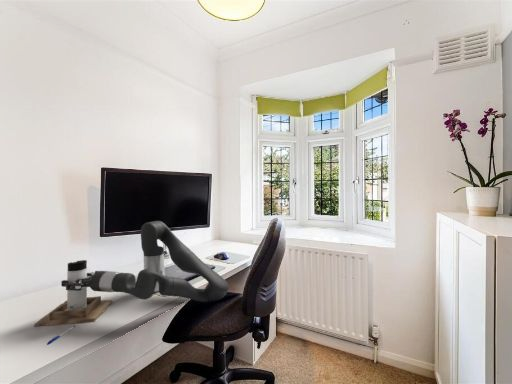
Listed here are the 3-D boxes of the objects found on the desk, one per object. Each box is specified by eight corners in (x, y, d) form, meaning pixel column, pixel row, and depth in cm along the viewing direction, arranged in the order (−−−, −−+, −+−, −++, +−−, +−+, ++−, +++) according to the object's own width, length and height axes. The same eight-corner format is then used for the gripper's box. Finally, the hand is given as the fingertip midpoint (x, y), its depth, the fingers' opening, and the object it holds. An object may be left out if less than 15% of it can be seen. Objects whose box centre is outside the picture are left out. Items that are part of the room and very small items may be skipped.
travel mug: (71, 316, 94) (72, 263, 94) (64, 311, 97) (64, 261, 97) (89, 309, 99) (90, 260, 99) (82, 305, 103) (82, 257, 102)
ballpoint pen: (49, 345, 78) (49, 342, 78) (46, 345, 78) (46, 342, 78) (75, 326, 89) (75, 324, 89) (73, 326, 89) (73, 324, 89)
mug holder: (112, 301, 108) (112, 293, 108) (95, 321, 92) (94, 311, 92) (61, 305, 105) (61, 297, 105) (34, 326, 89) (34, 317, 89)
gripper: (92, 299, 89) (55, 296, 92) (121, 284, 103) (87, 281, 106) (92, 278, 89) (54, 276, 91) (120, 266, 103) (87, 264, 105)
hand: (72, 279), depth 99 cm, fingers open, 8 cm apart
